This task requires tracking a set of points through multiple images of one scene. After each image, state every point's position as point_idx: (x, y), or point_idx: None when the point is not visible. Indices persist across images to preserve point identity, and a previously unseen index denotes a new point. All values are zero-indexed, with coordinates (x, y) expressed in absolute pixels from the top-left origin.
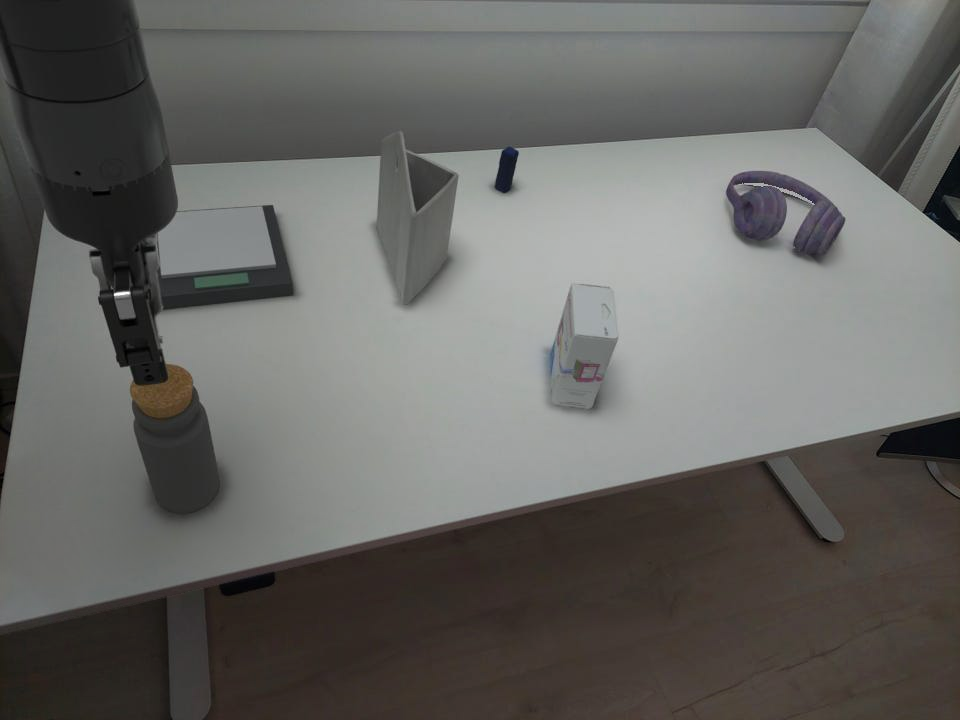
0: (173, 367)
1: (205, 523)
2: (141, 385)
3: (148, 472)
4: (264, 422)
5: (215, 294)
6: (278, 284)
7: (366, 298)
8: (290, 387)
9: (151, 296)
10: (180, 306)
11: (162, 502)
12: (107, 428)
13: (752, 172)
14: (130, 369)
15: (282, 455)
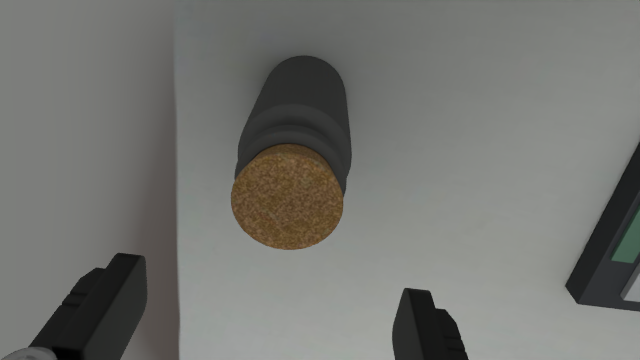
0: (324, 230)
1: (245, 104)
2: (95, 269)
3: (283, 77)
4: (370, 201)
5: (620, 211)
6: (585, 288)
7: (511, 351)
8: (412, 241)
9: (397, 333)
10: (635, 157)
11: (277, 67)
12: (451, 13)
13: None
14: (92, 288)
15: None
